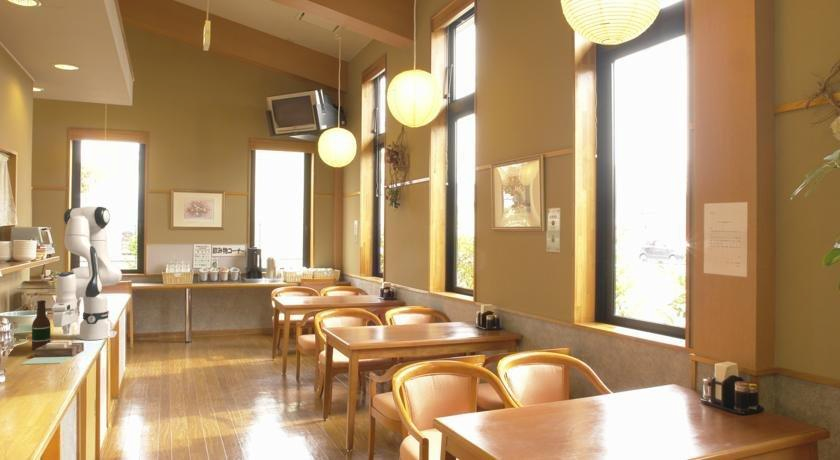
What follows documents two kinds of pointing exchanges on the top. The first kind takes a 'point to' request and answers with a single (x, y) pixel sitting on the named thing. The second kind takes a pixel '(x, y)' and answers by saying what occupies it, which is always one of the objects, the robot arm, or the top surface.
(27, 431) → the top surface
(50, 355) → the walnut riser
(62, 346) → the birch tile
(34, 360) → the rubber mat
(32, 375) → the top surface
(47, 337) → the beer bottle
